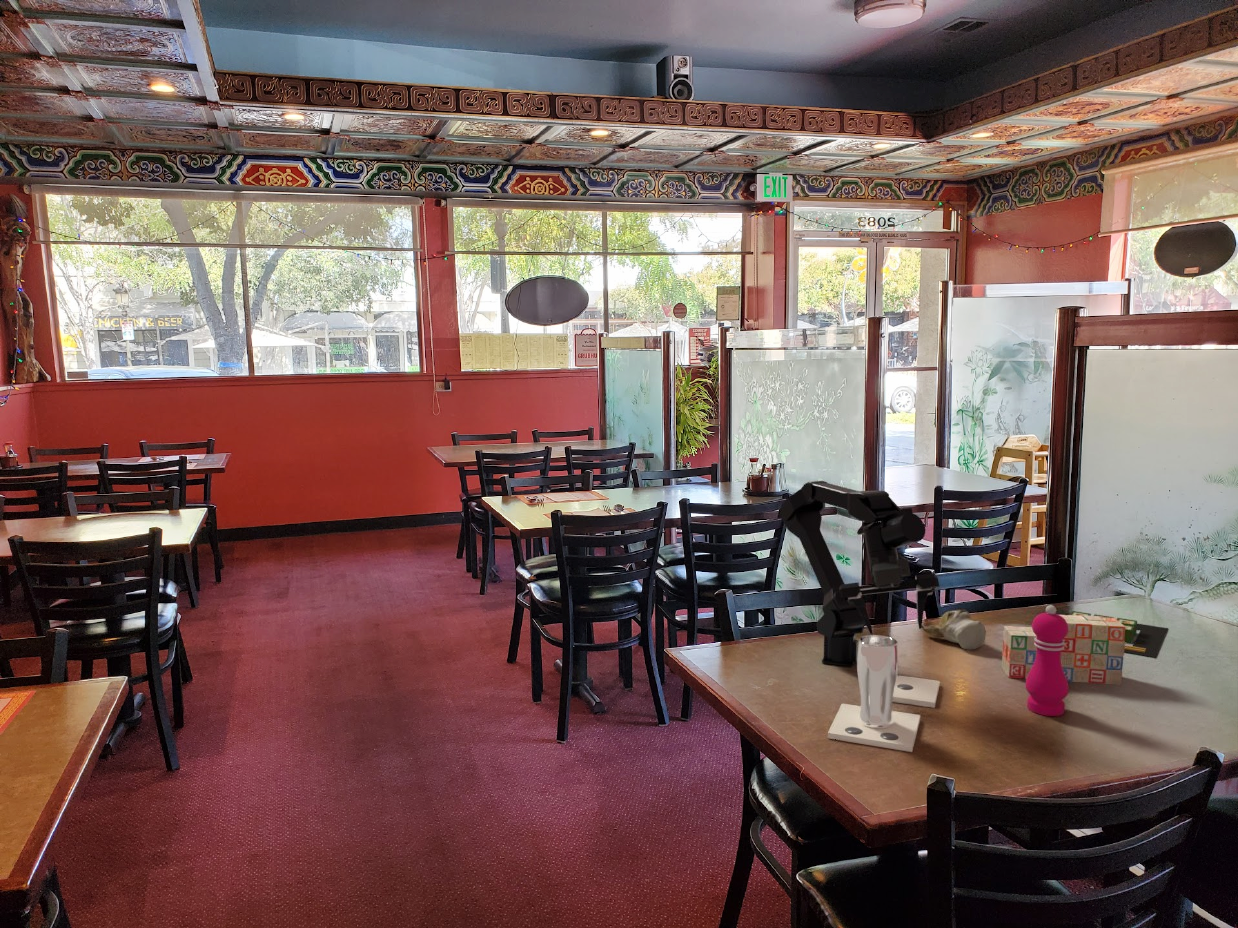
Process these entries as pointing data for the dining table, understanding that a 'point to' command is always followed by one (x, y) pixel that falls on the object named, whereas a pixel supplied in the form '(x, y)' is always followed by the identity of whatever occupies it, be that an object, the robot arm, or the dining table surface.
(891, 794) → the dining table surface
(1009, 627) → the stack of blocks
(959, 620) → the ceramic sculpture
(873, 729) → the two-dot tile
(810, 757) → the dining table surface
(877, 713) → the beer glass
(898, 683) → the one-dot tile
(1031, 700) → the pepper mill
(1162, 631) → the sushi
